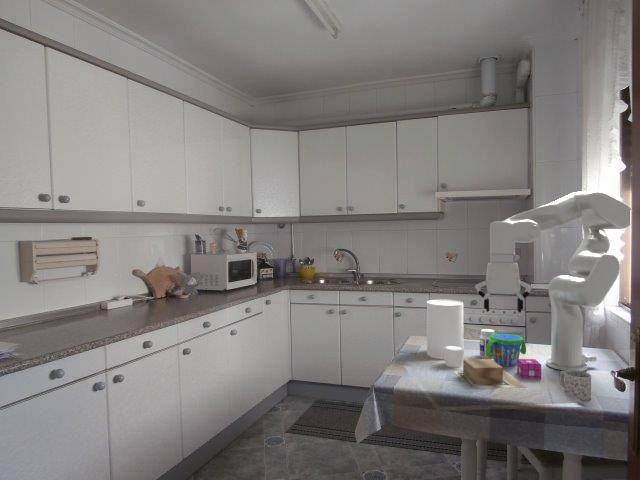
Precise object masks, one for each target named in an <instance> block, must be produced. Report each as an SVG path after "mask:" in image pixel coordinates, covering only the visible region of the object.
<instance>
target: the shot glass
mask: <svg viewBox="0 0 640 480" xmlns="http://www.w3.org/2000/svg"><path fill="white" fill-rule="evenodd" d="M464 354H465V348H464V346H463V347H461V346H454V345H449V346H445V347H444V356H445V359H444V363H445V366H447V367H450V368H461V367H462V368H463V359H464V356H465V355H464Z"/></svg>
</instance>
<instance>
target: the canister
mask: <svg viewBox="0 0 640 480" xmlns="http://www.w3.org/2000/svg"><path fill="white" fill-rule="evenodd" d="M449 345H454V346H461V347H463V348H464V302H463V301H461V300H454V299H430V300H427V301H426V355H428V356H429V357H430V358H432V359H439V360H445V356H444V347H445V346H449Z"/></svg>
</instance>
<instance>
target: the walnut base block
mask: <svg viewBox="0 0 640 480" xmlns="http://www.w3.org/2000/svg"><path fill="white" fill-rule="evenodd" d="M503 370H504V368H503V366H502V365H499V364H497V363H496V362H494V359H493V358H471V359H470V358H467V359H466V358H465V359H464V358H463V365H462V371H463V375H464V376H465V377H466V378H467V379H469V380H470V381H471V382H472V383H473V384H503Z"/></svg>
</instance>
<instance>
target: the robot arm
mask: <svg viewBox="0 0 640 480" xmlns="http://www.w3.org/2000/svg"><path fill="white" fill-rule="evenodd" d="M630 210H632V208H631V207H630V206H629V205H628V204H627V203H625V202H623V201H621V200H620V199H618V198H616V197H614V196H612V195H610V194H609V193H606V192H604V191H601V190H587V191H577V192H571V193H569V194H568V195H565V196H563V197H561V198H559V199H557V200H555V201H552V202H550V203H548V204H545V205H541V206H538V207H535V208H532V209H530V210H526V211H522V212H520V213H517V214H514V215H512V216H510V217H508V218H505V219H504V220H498V221H497V220H496V221H492V222H490V225H489V260H490V261H489V262H488V263H487V266H486V272H485V273H486V274H485V276H486V277H485V280H484V281H481V282H479V283H477V284H476V285H474V288H475V290H476V291H477V292H476V293H477V294H478V295H479V296H480V297H481V298H482V299H483V308H484V310H486V312H487V313H489V312H490V299H489V298H490V296H491V295H516V297H517V301H516V303H517V304H516V306H517V307H516V308H517V312H518V313H519V314H520V313H522V310H524V300H525V299H526V298H527V297H528V296H529V295H530V292H531V291H532V289H533V286H532V285H530V284H528V283H526V282H524V281H522V280H521V278H520V277H521V276H520V271H519V265H518V262H516V261H518V260H521V256H520V255H518V254H516V243H520V244H521V243H524V244H525V243H526V244H527V243H533V242H535V241H536V240H538V238H539V237H540V236H541V231H545V230H546V231H547V230H553V229H556V228H560V227H562V226H564V225H567V224H568V223H570V222H572V221H574V220H576V219H579V218H580V221H581V225H582V229H583V238H582V241H581V243H580V244H579V246H578V247H577V249H576V251H575V252H574V253H573V255H572V257H571V258H570V259H569V262H568V265H567V271H568V273H569V274H570V275H568V274H567V275H564V274H563V275H562V274H561V275H557V276H555V277H553V278H552V279H551V280H550V281H549V283H548V296H549V300H550V307H551V308H550V311H551V323H550V324H551V337H550V338H551V339H550V340H551V341H550V342H551V345H550V346H551V348H550V349H551V353H550V355H551V356H550V357H551V358H548V359H546V360H545V361H546V362H545V364H546V366H548V367H550V368H552V369H555V370H558V371H568V370H577V371H583V372H586V371H588V364H587V363H588V362H591V363H592V362H597V357H596V355H589V356H588V354H584V353H583V337H584V336H583V335H584V334H583V324H584V321H583V320H584V319H583V317H584V316H583V314H582V310H581V308H580V307H584V308H595V307H597V306H599V305H600V304H601V303H602V302H603V300H604V299H605V298H606V297H607V295H608V293H609V292H610V290H611V288H612V287H613V286H614V284H615V282H616V280H617V278H619V277H618V276H619V274H620V269H621V266H620V265H621V264H620V260H619V259H618V258H617V257H616V256H615V255H614V254H611V253H609V249H610V246H611V245H610V241H609V238H608V236H607V233H606V230H622V229H626V228H628V227H629V226H631V224H630ZM484 286H485V290H486V291H485V293H484V292H483V291H482V290H481V288H482V287H484ZM521 287H523V288H525V290H524V292H523V293H520V292H521Z"/></svg>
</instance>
